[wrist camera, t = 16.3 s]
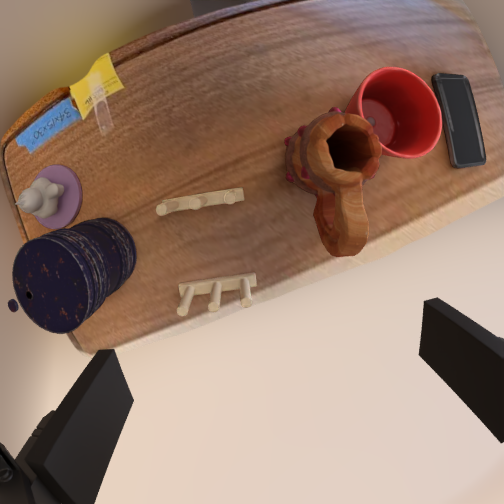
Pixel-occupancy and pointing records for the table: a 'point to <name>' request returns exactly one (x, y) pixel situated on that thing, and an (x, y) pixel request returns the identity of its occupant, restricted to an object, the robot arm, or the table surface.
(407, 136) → the flower pot
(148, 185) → the table surface
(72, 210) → the purple coaster
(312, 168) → the mug
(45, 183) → the grey lumpy piece
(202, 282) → the rack
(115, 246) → the dark blue barrel
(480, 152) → the phone
